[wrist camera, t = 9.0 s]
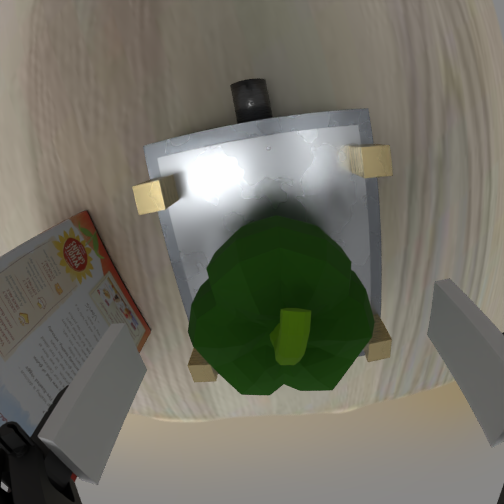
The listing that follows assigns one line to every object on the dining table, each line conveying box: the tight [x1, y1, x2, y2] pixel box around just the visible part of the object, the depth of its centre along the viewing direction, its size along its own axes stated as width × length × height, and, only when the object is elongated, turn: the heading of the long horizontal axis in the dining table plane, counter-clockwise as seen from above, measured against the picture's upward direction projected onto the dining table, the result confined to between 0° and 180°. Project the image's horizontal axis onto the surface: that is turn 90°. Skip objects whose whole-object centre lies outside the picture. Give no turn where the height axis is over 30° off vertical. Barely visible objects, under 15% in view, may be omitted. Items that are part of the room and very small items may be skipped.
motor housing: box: [132, 79, 393, 382], centre depth 21 cm, size 21×14×9 cm, turn 10°
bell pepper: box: [188, 215, 375, 395], centre depth 15 cm, size 8×8×10 cm
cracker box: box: [0, 211, 151, 482], centre depth 18 cm, size 14×6×21 cm, turn 21°
